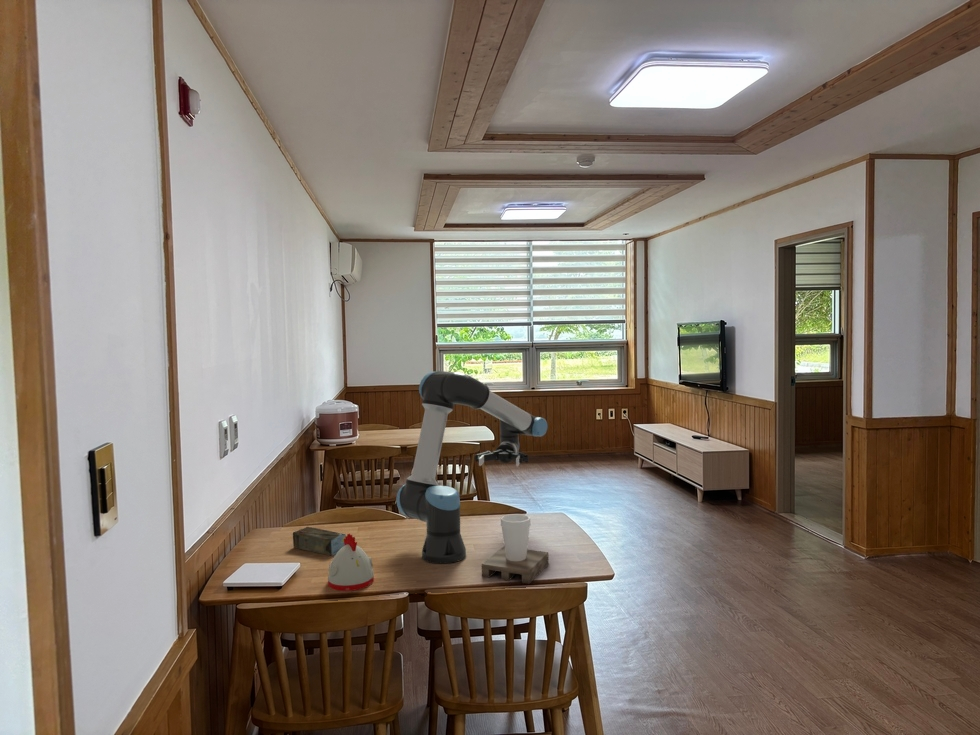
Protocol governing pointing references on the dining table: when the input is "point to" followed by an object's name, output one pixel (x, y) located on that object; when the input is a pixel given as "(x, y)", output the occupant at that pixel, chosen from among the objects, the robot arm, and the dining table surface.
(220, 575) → the dining table surface
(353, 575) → the kitchen timer
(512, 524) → the foam cup
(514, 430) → the robot arm
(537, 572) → the miniature wooden pallet
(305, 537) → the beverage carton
